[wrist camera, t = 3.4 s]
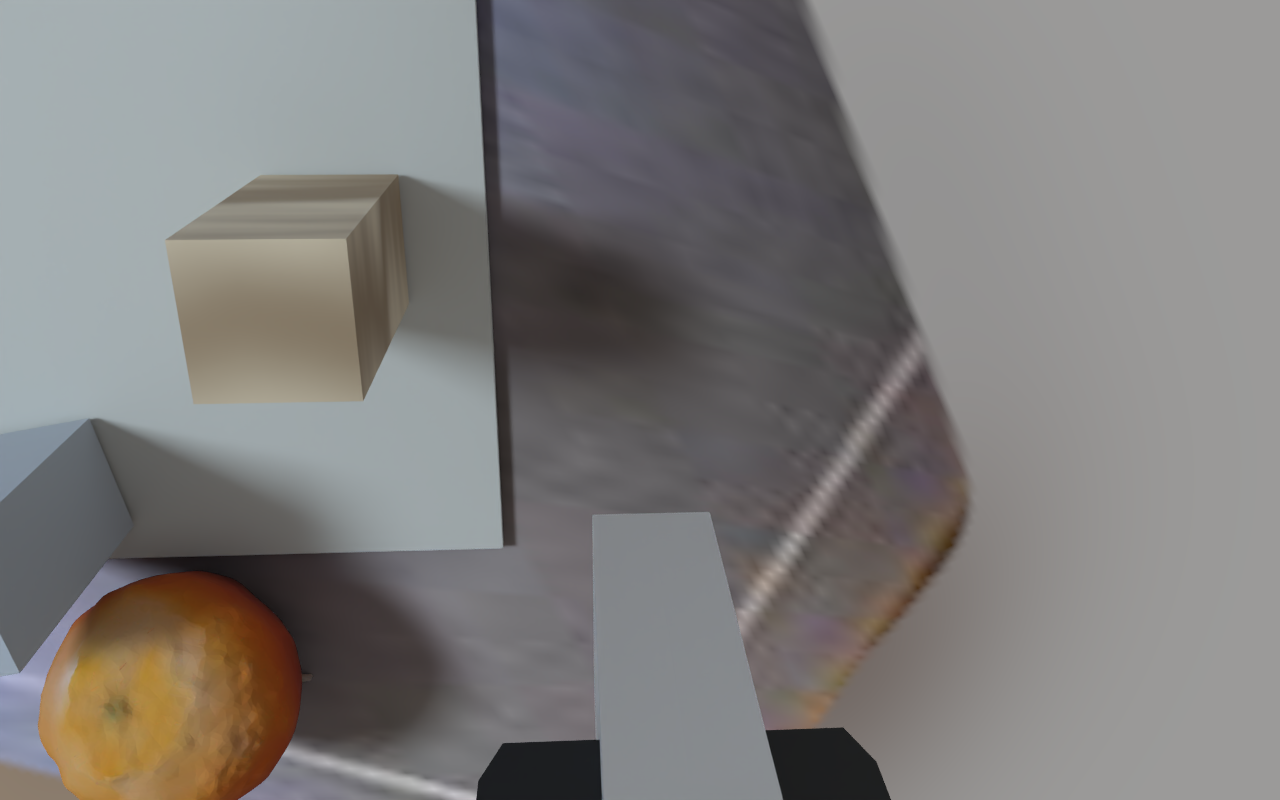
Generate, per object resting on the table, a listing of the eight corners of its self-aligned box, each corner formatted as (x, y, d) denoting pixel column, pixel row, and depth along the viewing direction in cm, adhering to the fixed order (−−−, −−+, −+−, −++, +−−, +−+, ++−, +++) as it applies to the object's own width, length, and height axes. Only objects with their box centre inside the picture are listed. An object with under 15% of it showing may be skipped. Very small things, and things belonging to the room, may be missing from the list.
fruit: (209, 812, 38) (47, 896, 30) (133, 617, 40) (-40, 649, 32) (393, 723, 37) (275, 787, 29) (310, 525, 38) (175, 535, 31)
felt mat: (-239, -52, 28) (-249, -52, 27) (474, -46, 29) (472, -46, 28) (-58, 557, 35) (-65, 563, 35) (503, 542, 36) (502, 548, 36)
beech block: (262, 173, 30) (164, 240, 23) (399, 173, 31) (346, 238, 23) (279, 303, 32) (193, 404, 25) (410, 301, 32) (363, 401, 25)
